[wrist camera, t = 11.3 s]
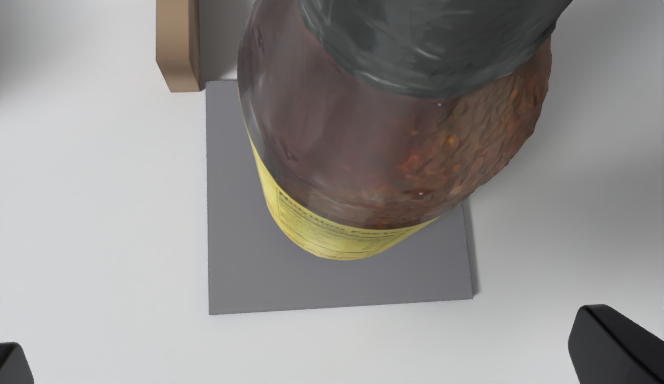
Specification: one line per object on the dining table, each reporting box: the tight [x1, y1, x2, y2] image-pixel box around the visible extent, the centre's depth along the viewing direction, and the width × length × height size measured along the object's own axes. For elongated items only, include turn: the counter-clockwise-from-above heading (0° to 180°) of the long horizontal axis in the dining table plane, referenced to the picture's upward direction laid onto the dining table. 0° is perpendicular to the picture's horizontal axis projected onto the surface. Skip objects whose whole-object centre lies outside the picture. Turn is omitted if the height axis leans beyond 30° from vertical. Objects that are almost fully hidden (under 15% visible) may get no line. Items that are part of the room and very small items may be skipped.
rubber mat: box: [206, 80, 473, 315], centre depth 24 cm, size 10×10×1 cm
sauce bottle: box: [237, 0, 573, 260], centre depth 14 cm, size 6×6×20 cm
